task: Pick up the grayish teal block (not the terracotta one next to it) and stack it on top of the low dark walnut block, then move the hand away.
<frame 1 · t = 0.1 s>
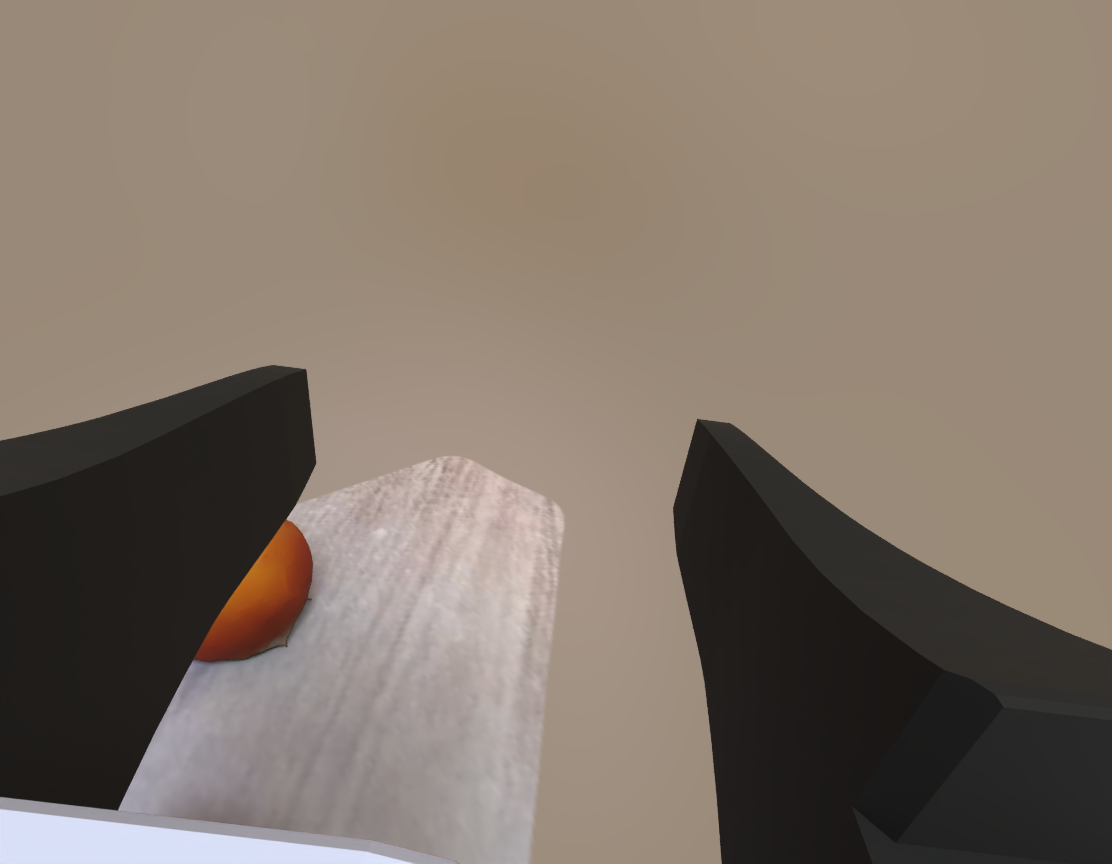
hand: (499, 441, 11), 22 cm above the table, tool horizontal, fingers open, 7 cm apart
fruit: (241, 627, 34), on the table
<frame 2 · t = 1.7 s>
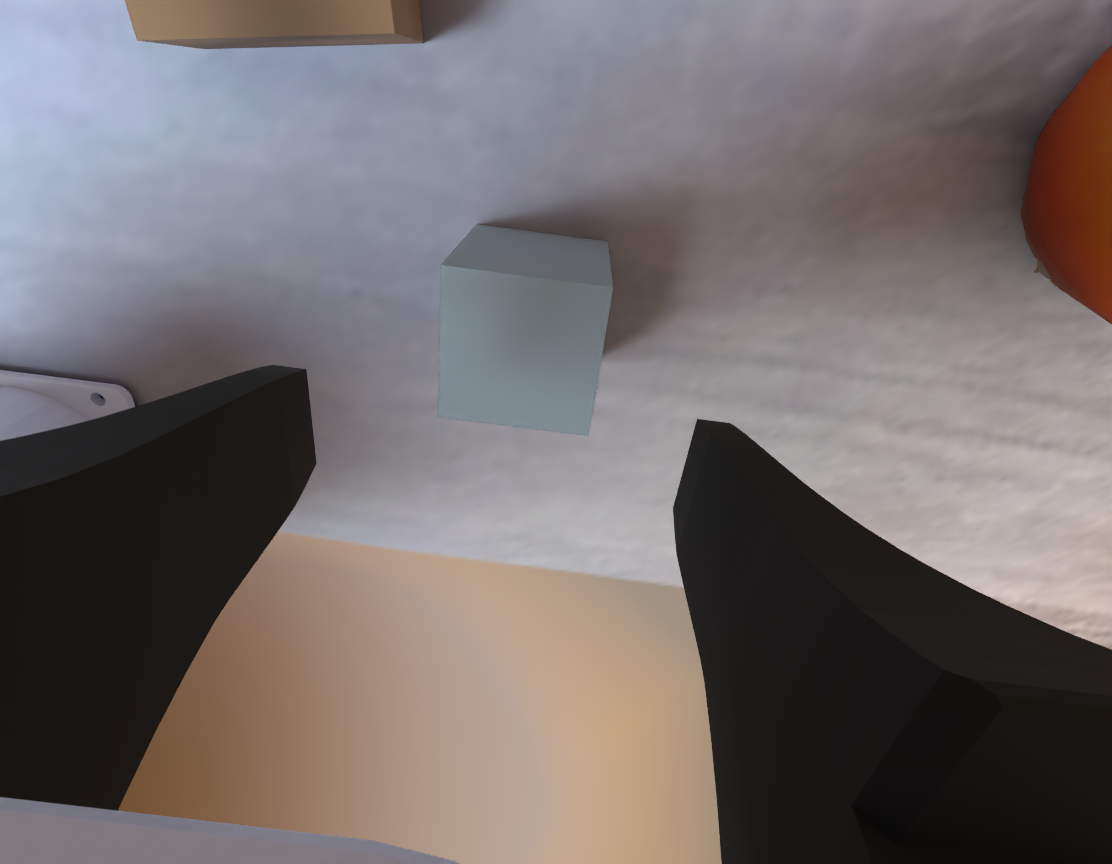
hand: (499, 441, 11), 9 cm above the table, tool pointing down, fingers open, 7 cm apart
grayish teal block: (536, 296, 19), on the table
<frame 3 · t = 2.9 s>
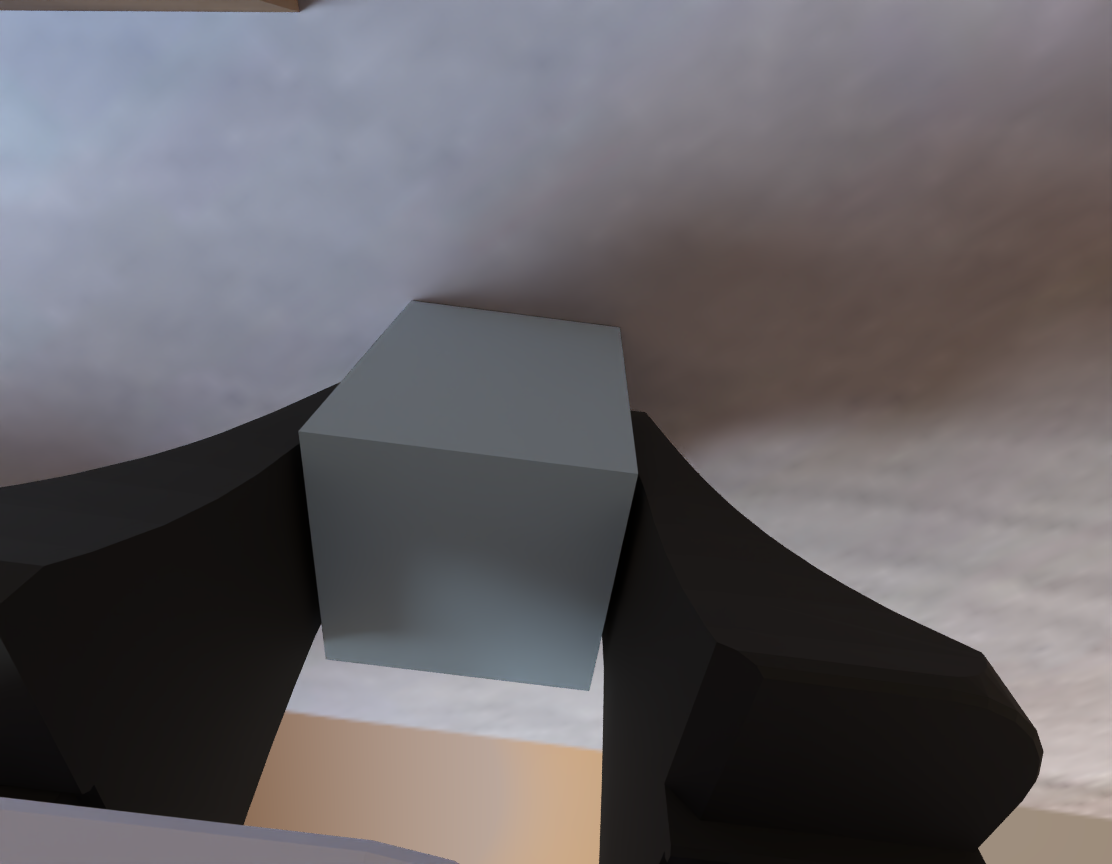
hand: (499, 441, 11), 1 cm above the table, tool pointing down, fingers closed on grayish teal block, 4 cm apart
grayish teal block: (508, 406, 12), on the table, touching gripper
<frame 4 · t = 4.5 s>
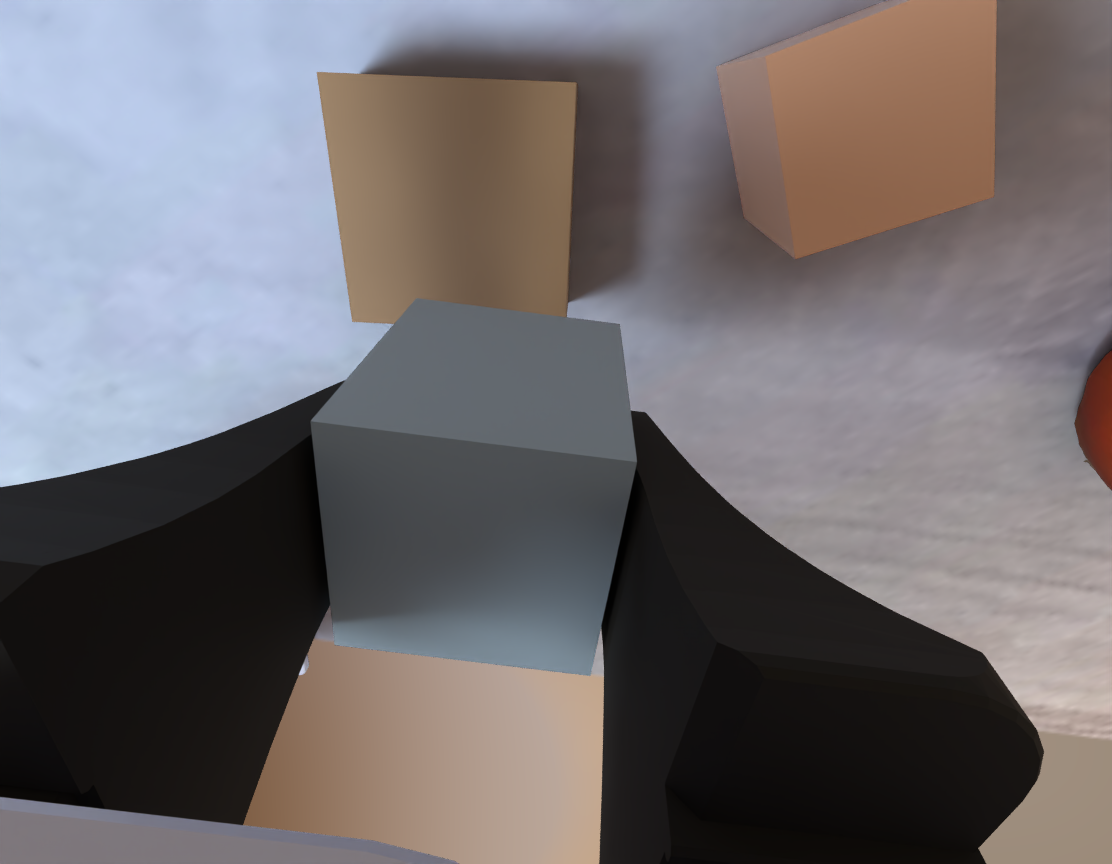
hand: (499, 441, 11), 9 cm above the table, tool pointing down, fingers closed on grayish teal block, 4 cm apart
terracotta block: (804, 119, 16), on the table
walnut block: (472, 197, 18), on the table
grayish teal block: (510, 401, 12), point 7 cm above the table, touching gripper
when the fingers open (5 cm above the table, at t = 5.9 s): grayish teal block stays where it is, resting on walnut block.
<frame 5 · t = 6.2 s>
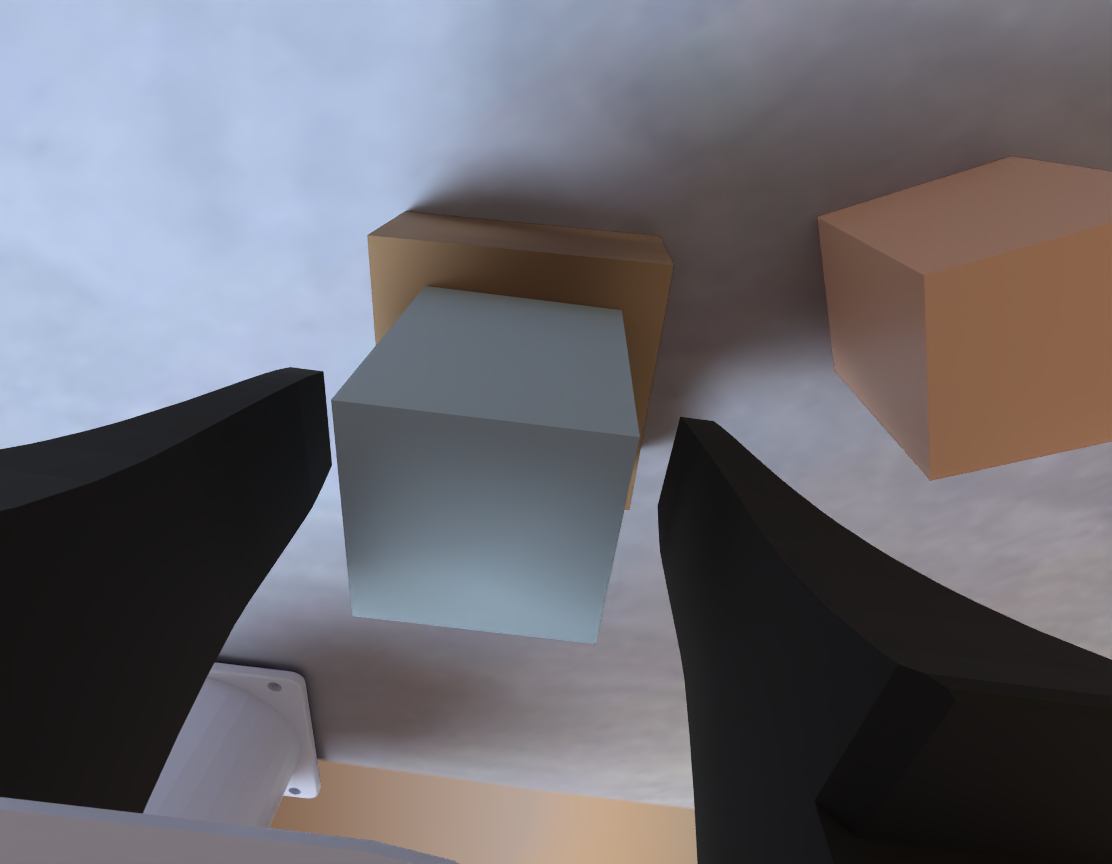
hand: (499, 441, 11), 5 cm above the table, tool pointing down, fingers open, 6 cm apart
terracotta block: (913, 273, 14), on the table
walnut block: (526, 339, 16), on the table, touching grayish teal block
grayish teal block: (516, 386, 13), point 3 cm above the table, touching walnut block
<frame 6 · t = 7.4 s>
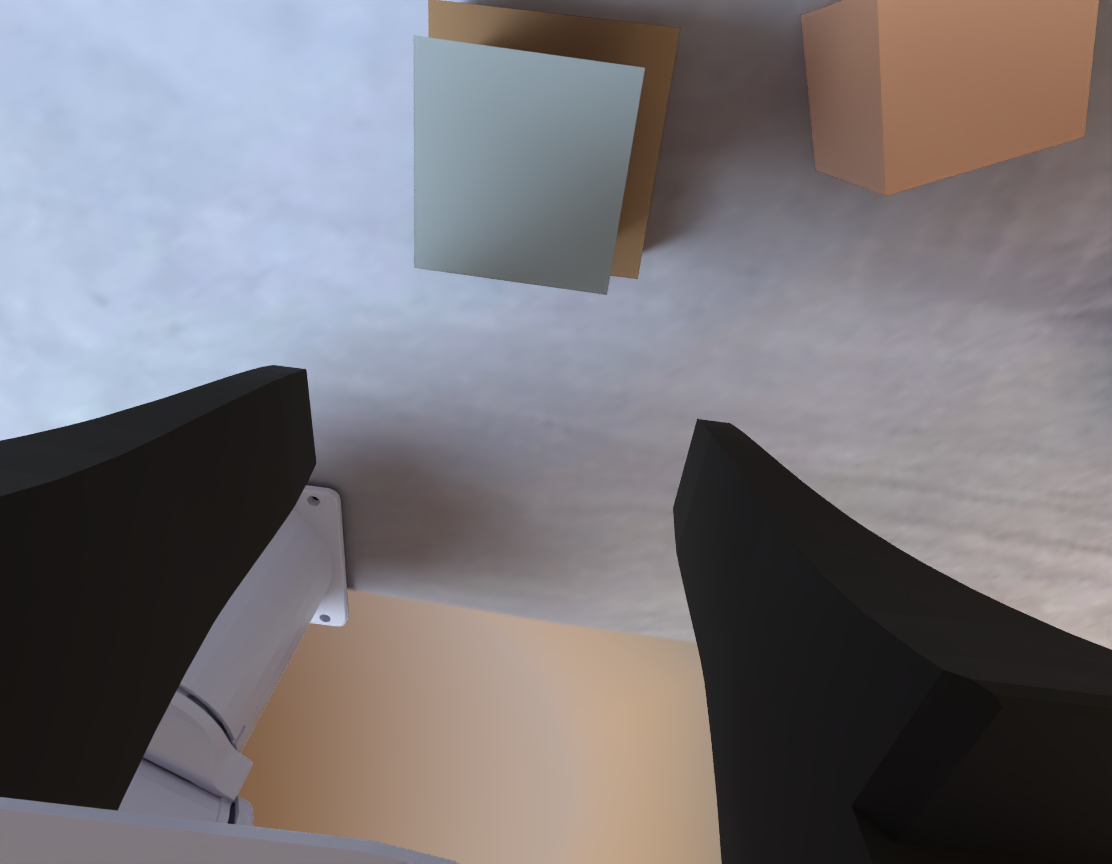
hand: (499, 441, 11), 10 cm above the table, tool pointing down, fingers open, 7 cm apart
terracotta block: (882, 71, 16), on the table
walnut block: (550, 143, 18), on the table, touching grayish teal block
grayish teal block: (542, 151, 15), point 3 cm above the table, touching walnut block
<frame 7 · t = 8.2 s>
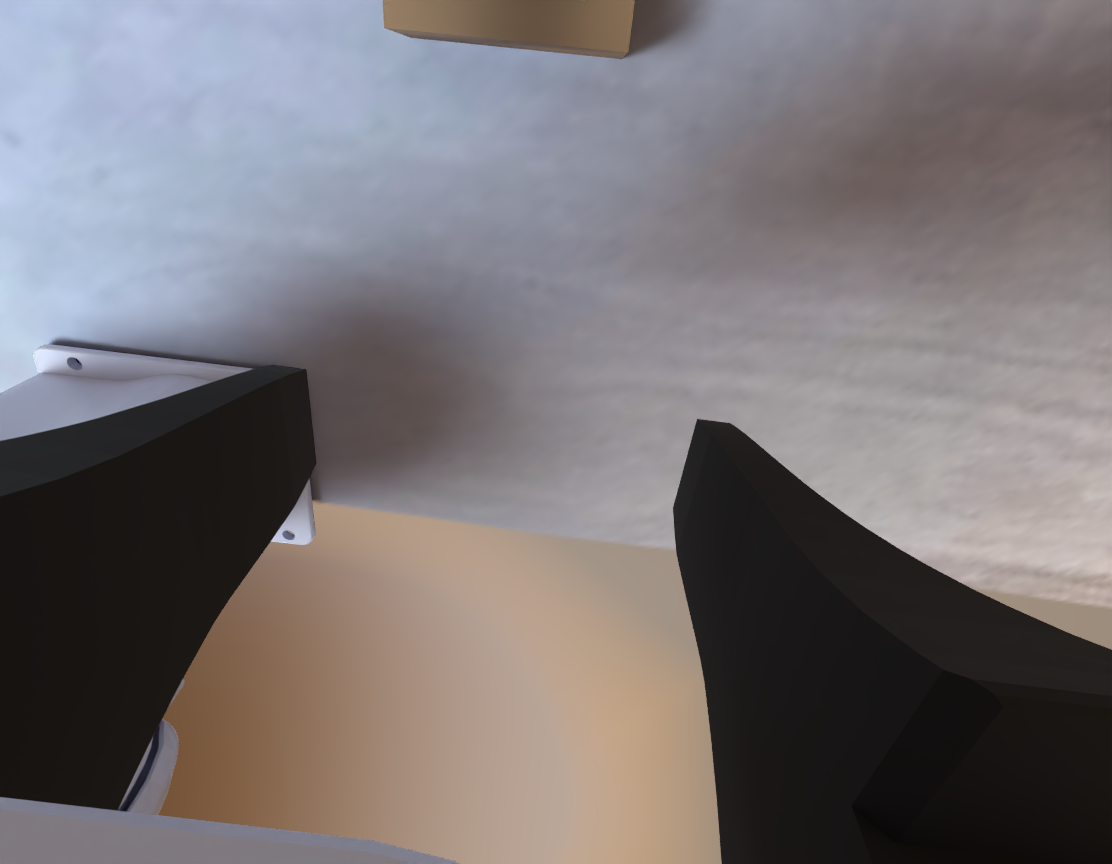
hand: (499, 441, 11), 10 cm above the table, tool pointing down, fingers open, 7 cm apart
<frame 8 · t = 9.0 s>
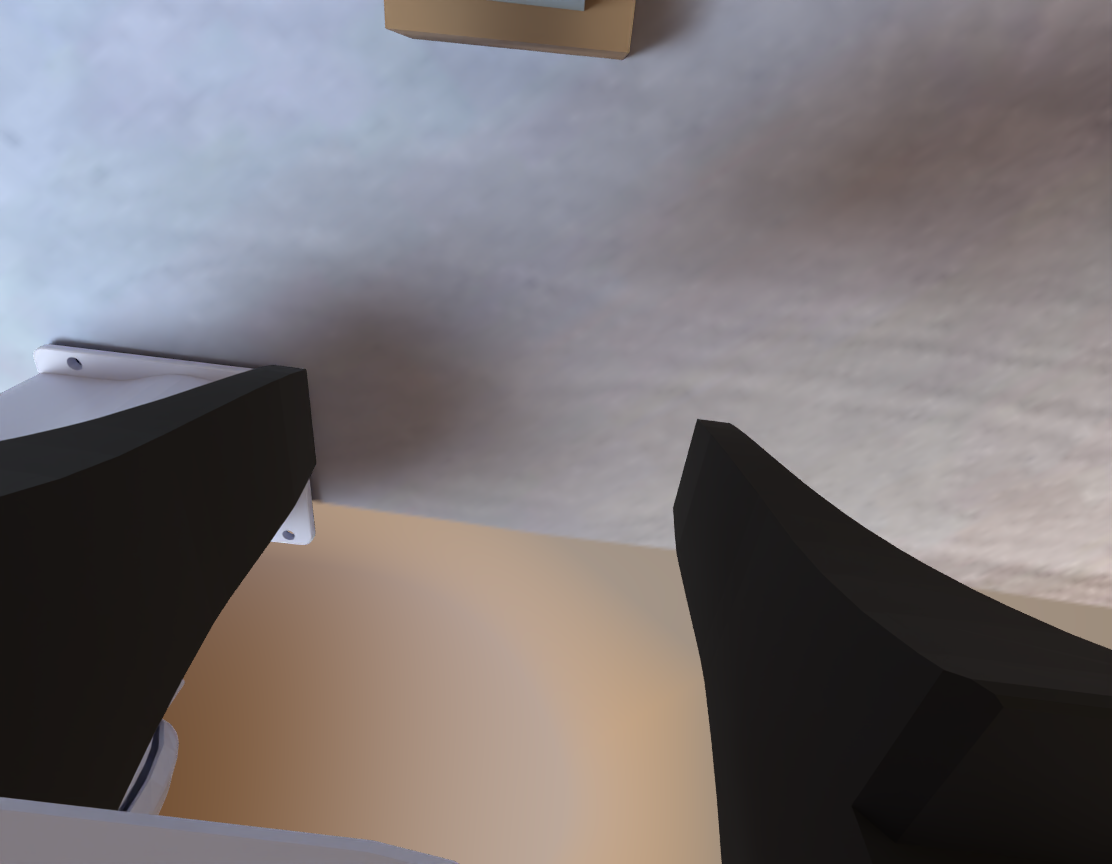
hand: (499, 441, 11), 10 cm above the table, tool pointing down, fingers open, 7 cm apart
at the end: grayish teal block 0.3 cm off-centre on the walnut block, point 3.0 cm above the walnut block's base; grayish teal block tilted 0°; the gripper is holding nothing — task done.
